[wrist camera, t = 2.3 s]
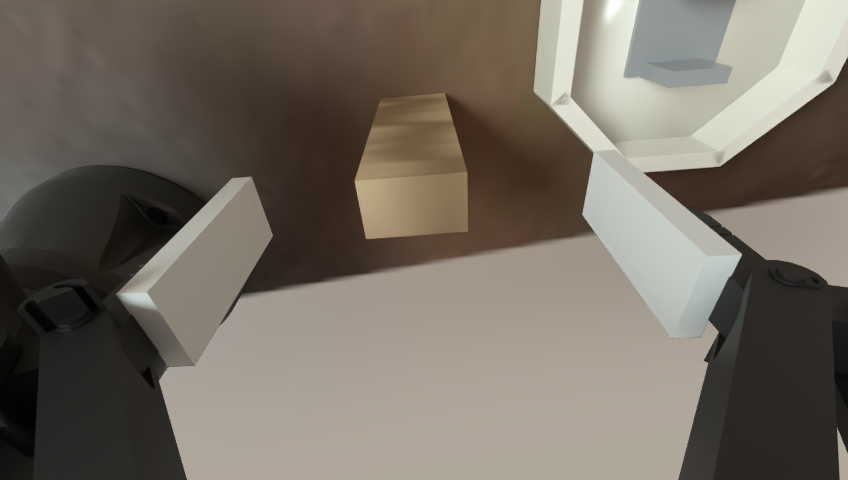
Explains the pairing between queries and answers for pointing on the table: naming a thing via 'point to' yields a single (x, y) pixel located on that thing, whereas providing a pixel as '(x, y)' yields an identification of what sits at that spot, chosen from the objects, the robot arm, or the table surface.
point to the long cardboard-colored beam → (412, 170)
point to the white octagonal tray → (684, 72)
